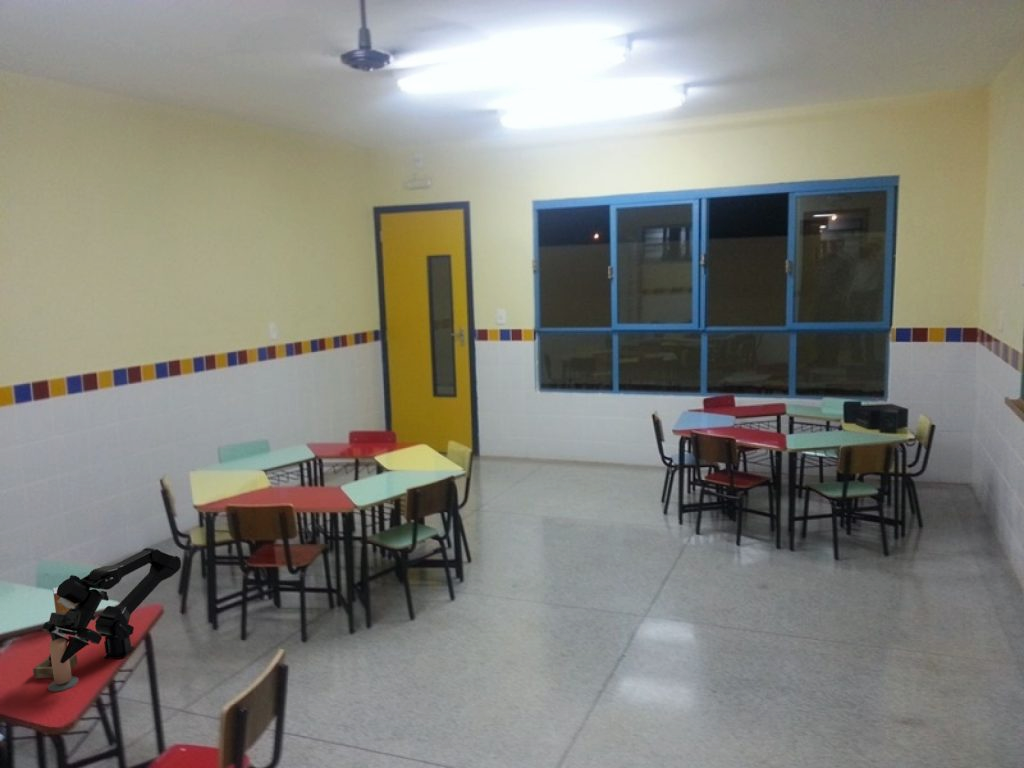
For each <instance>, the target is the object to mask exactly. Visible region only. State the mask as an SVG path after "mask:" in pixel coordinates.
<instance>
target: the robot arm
mask: <svg viewBox="0 0 1024 768" xmlns="http://www.w3.org/2000/svg"><path fill="white" fill-rule="evenodd" d="M148 564H149V565H150V568H149V572H148V573H147V574H146V575H145V576H144V578H142V580H140V582H138V584H137V585H135V587H134V588H133V589H131V591H130V592H129V593H128V594H127V595H126V596H125V597H124V598H123V600H121V602H119V604H117V605H116V606H112V605H107V606H106V607H105V608H104V610H103V611H101V613H100V614H98V615H97V616H98V617H96V616H95V615H94V614H95V613H96V611H97V609H98V607H99V605H100V604H101V603H102V601H109V600H110V599H109V596H108V592H107V591H109V590H111V589H113V588H114V587H115V586H116V585H118V584H119V583H120V581H121V580H122V578H124V577H125V576H127V575H129V574H131V573H133V572H134V571H137V570H138V569H140V568H143V567H144V566H146V565H148ZM181 567H182V561H181V558H180V556H178V555H172V554H168V553H165V552H163V551H161V550H159V549H158V548H154V547H153V548H151V547H145V548H143V549H142V550H141V551H139V552H137V553H135V554H133V555H131V556H128V557H127V558H125V559H122V560H121V561H119V562H117V563H115V564H110V565H105V566H101V567H97V568H94V569H92V570H91V571H90V572H89V574H87V575H86V576H84V577H82V578H80V577H79V576H77V575H74V574H71V575H70V576H69V577H68V578H67V579H65V580H63V581H62V582H61V583H60V584H59V585H58V586H57V587H58V589H57V595H58V596H59V597H61V598H63V599H65V600H67V601H69V602H71V603H73V604H76V606H75V608H74V609H72V608H71V609H69V611H68V612H67V613H56V612H50V616H49V619H48V621H46V622H44V624H43V626H42V628H41V630H42V631H45V632H47V633H48V635H50V637H51V641H53V640H56V639H60V638H65V639H66V640H67V648H66V650H65V652H64V654H63V656H62V658H61V661H60V663H65V662H66V661H67V660H68V659H69V658H71V657H72V656H73V655H77V653H79V652H80V651H82V650H83V649H84V648H85V647H87V646H90V643H91V644H95V645H100V643H101V641H102V637H104V642H103V643H104V651H105V655H104V656H103V657H104V659H124V658H126V657H127V656H128V655H129V654H130V653H131V652H132V651H133V650H134V649H135V646H132V643H131V636H132V635H133V634H134V630H135V629H134V626H133V625H132V624H131V625H130V624H129V623H130V619H131V615H132V614H133V613H134V611H135V610H137V608H138V607H139V606H140V605H141V604H142V603H143V602H144V601H145V600H146V599H147V597H148V596H149V595H150V594H152V592H153V591H154V590H155V589H156V588H157V587H158V585H159V584H160V583H162V582H163V581H165V580H167V579H169V578H172V577H173V576H174V575H175V574H177V573H178V572H179V571H180V569H181ZM105 590H107V591H105ZM96 618H97V619H96ZM95 619H96V620H95ZM91 621H95V622H94V623H95V625H94V626H95V627H94V628H95V630H94V629H91V628H88V626H89V624H90V622H91ZM67 635H68V638H66V637H67ZM89 641H90V643H89ZM48 657H49V660H51V655H50V654H49V656H48Z"/></svg>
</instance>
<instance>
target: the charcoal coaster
mask: <svg viewBox="0 0 1024 768" xmlns="http://www.w3.org/2000/svg"><path fill="white" fill-rule="evenodd" d="M78 683H79V678H78V677H77V676H73V675H72V679H71V680H70V681H69V682H66V683H64V684H55V682H54V680H53V681H52V682H50V684H49V685H48V686H47V688H48V691H49V692H53V693H58V692H64V691H67V690H70V689H72V688H74V687H75V686H76V685H78Z"/></svg>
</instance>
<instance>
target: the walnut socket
mask: <svg viewBox="0 0 1024 768" xmlns="http://www.w3.org/2000/svg"><path fill="white" fill-rule="evenodd" d="M69 661H70V668H71V670H72V669H73V668H74V667H76V666H77V664H79V663H78V656H77V654H74V655H73V656H72V657H71V658H69ZM75 665H76V666H75ZM32 671H33V678H34V679H54V675H53V669H52V662H51V660H49V656H47V657H46V658H45V659H44V660H42V661H41V662H40V663H38V664H37V665H36V666H34V667H33V668H32Z"/></svg>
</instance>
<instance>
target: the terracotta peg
mask: <svg viewBox="0 0 1024 768" xmlns="http://www.w3.org/2000/svg"><path fill="white" fill-rule="evenodd" d="M65 638H66V637H65ZM65 638H60V639H56V640H53V641H52V640H51V641H50V642H49V643H48V647H49V655H51V662H52V669H53V675H54V678H53V679H54V680H53V681H54V682H55V684H64V683H66V682H69V681H70V680H71V679H72V676H73V675H72V669H71V668H70V661H69V659H68V660H67V661H66V662H65V663H60V661H61V658H62V656H63V654H64V652H65V650H66V648H67V646H68V643H67V640H66V639H65Z"/></svg>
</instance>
